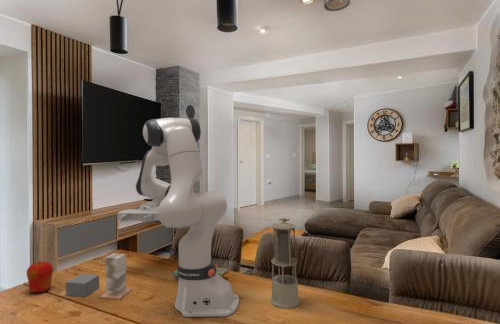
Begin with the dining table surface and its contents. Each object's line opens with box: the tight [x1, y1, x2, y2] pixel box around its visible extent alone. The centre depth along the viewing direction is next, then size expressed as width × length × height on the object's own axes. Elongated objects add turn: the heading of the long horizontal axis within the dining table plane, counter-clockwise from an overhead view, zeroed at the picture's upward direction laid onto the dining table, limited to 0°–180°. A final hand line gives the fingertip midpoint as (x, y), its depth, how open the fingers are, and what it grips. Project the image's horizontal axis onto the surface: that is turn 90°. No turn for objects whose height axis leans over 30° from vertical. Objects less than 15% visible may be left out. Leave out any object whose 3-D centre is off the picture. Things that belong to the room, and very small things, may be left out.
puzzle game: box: [172, 266, 229, 281], centre depth 132 cm, size 12×5×20 cm
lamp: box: [269, 217, 301, 309], centre depth 113 cm, size 10×13×30 cm
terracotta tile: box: [99, 287, 133, 301], centre depth 119 cm, size 8×8×1 cm
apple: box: [26, 260, 54, 294], centre depth 122 cm, size 9×8×12 cm
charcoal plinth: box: [65, 273, 100, 298], centre depth 121 cm, size 8×8×5 cm
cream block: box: [104, 252, 127, 296], centre depth 119 cm, size 5×5×14 cm
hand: (132, 219), depth 130 cm, fingers open, 8 cm apart
